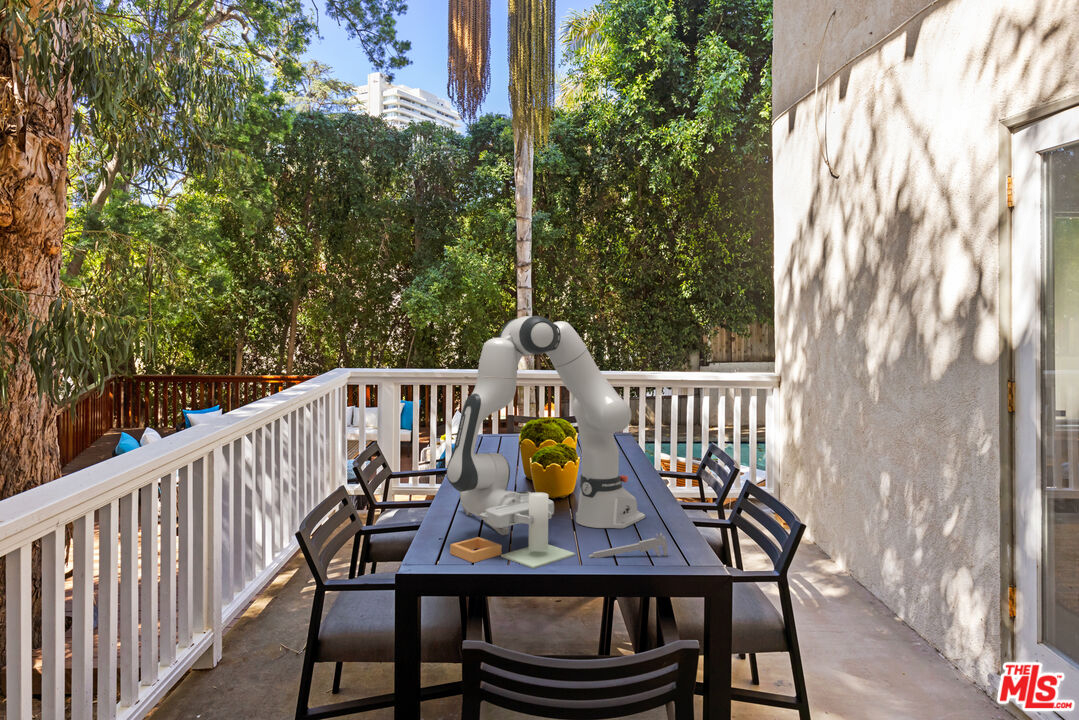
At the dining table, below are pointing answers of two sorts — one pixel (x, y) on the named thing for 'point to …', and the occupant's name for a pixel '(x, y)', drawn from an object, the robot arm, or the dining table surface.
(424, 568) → the dining table surface
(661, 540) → the caliper
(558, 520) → the dining table surface
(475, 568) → the dining table surface
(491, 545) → the orange square frame
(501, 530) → the wrench
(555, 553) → the mat
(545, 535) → the tall white pillar
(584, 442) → the robot arm
